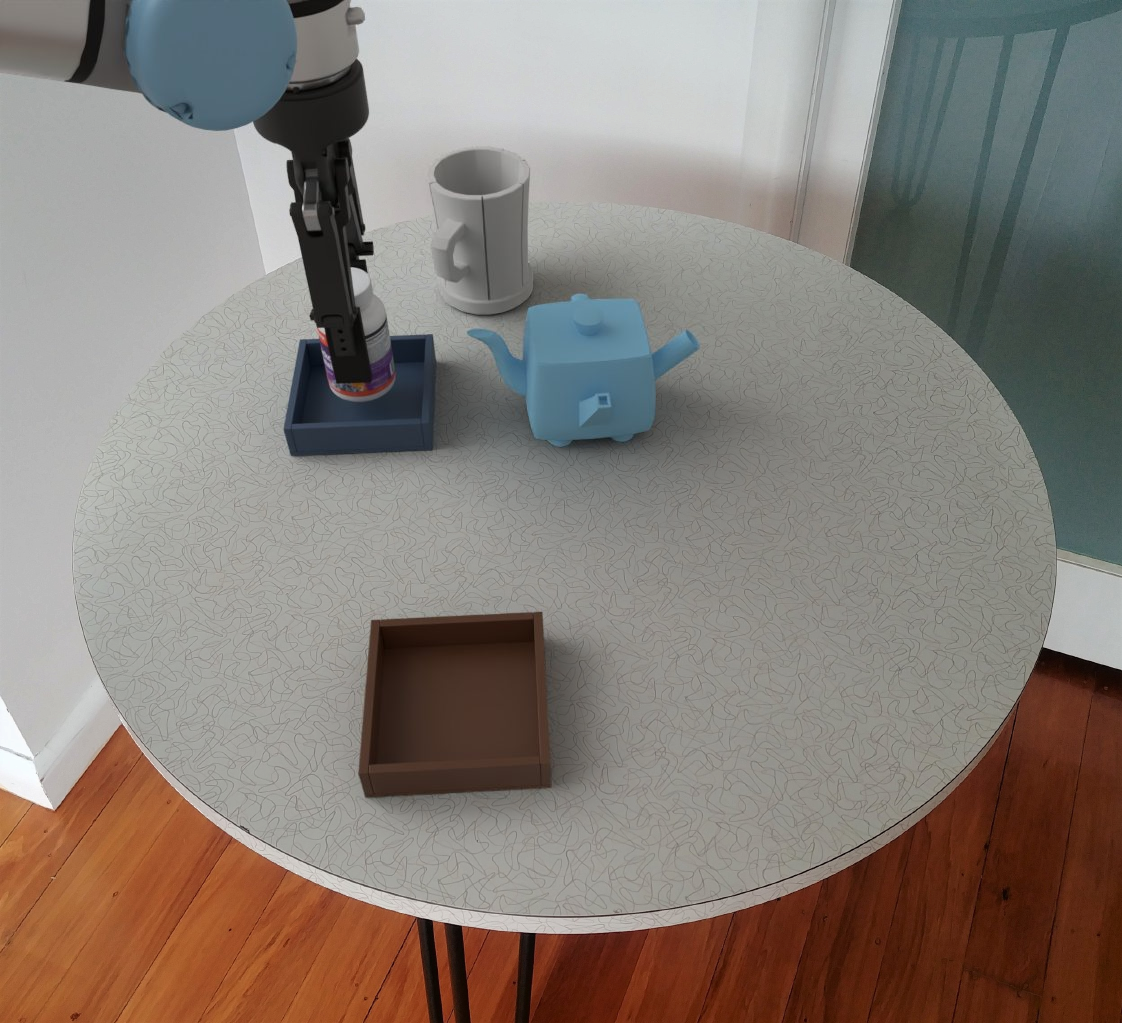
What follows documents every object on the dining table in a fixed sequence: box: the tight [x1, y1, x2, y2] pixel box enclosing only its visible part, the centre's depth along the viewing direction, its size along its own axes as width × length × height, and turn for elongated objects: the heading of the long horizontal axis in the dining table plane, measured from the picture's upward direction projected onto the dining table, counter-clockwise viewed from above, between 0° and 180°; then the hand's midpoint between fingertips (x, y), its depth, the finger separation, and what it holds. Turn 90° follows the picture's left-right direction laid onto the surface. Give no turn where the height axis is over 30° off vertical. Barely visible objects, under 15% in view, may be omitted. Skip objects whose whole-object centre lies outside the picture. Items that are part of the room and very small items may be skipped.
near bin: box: [357, 611, 552, 799], centre depth 66 cm, size 11×11×3 cm
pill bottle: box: [315, 267, 395, 402], centre depth 82 cm, size 5×5×10 cm
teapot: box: [466, 293, 701, 448], centre depth 83 cm, size 18×14×10 cm
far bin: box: [283, 333, 437, 457], centre depth 87 cm, size 11×11×3 cm
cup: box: [425, 145, 534, 316], centre depth 94 cm, size 10×9×12 cm
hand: (357, 354), depth 84 cm, fingers closed on pill bottle, 5 cm apart
